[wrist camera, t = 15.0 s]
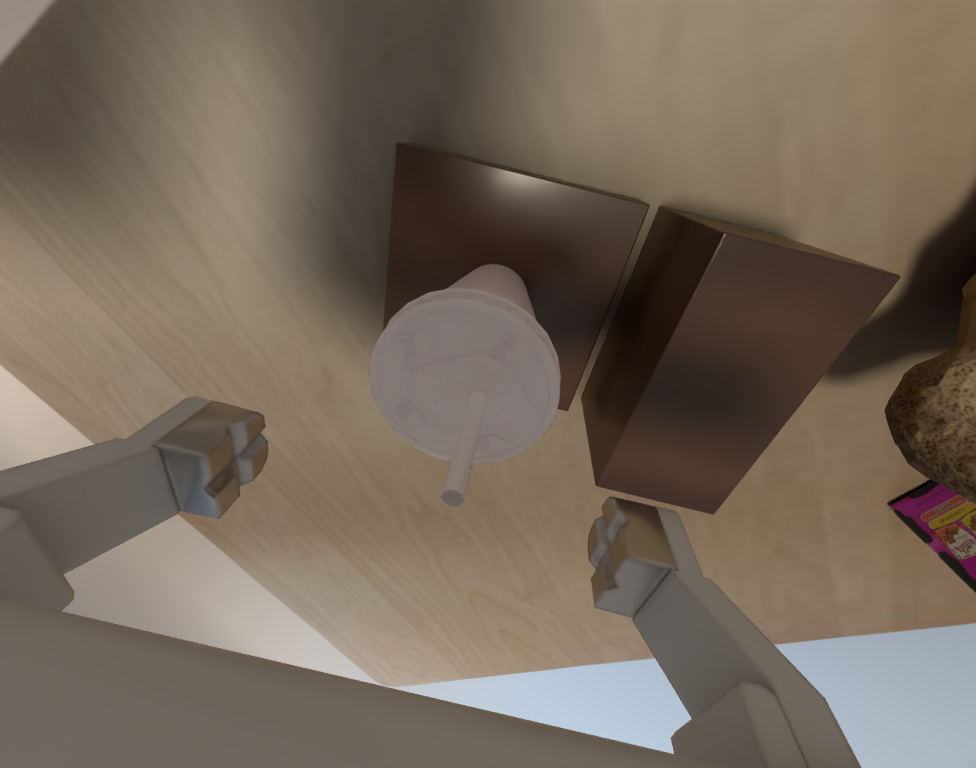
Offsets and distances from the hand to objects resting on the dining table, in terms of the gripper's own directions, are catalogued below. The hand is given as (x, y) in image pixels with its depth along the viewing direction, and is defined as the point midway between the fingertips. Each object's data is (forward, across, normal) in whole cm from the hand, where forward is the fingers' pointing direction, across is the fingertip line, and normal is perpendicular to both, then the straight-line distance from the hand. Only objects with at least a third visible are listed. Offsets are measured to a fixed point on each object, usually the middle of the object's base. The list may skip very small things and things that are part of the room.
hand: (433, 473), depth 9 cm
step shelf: (+16, -4, 0) cm, 16 cm away
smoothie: (+14, 0, 0) cm, 14 cm away
